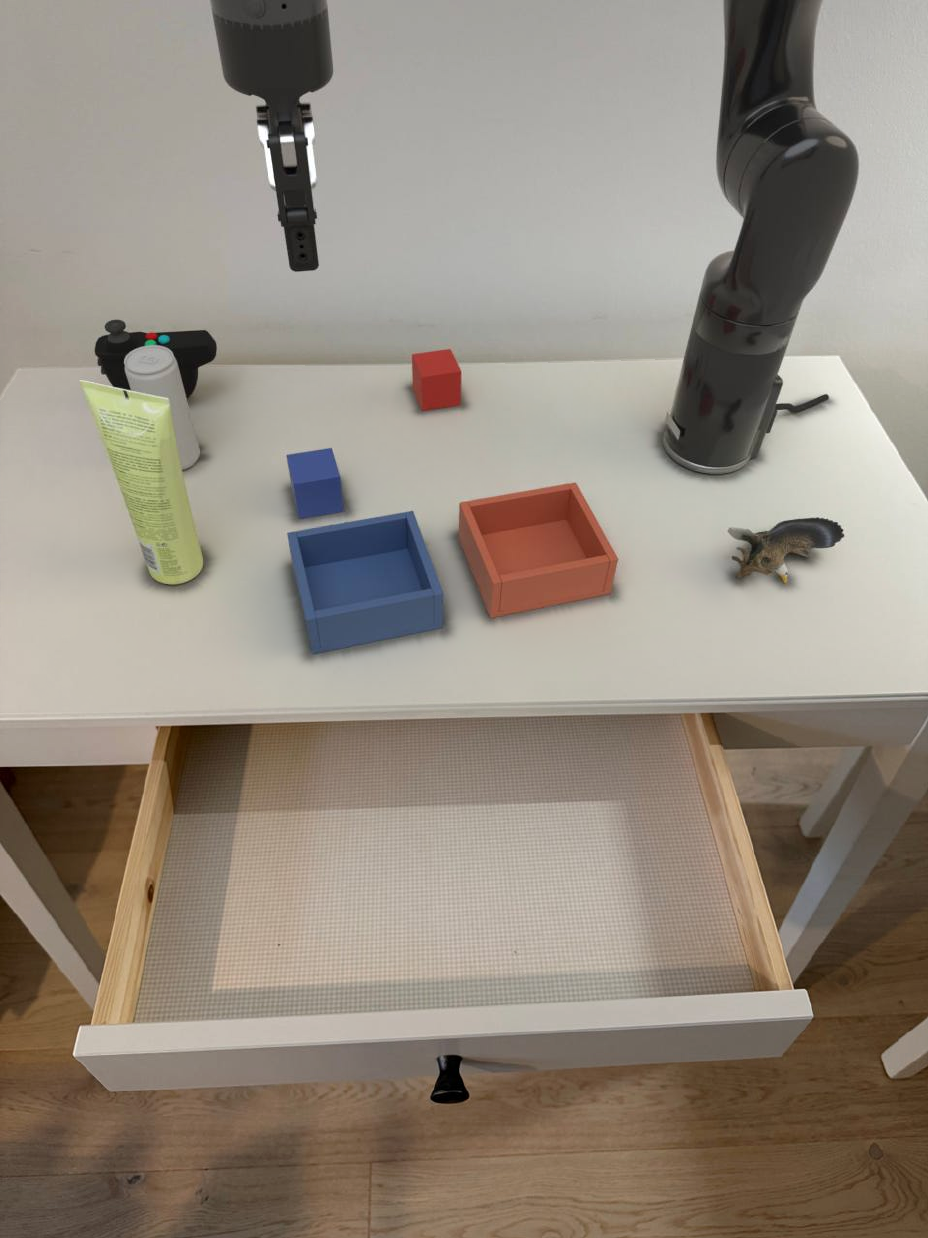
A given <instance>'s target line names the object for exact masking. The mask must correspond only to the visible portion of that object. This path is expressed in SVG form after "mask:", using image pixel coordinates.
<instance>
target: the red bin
mask: <svg viewBox="0 0 928 1238" xmlns="http://www.w3.org/2000/svg"><path fill="white" fill-rule="evenodd" d="M457 536H458V540H459V543H460V545H461V548H462V550H463V554H464V555H465V559H466V560H467V563H468V566H469V568H470V570H471V573H472V575H473V578H474V580H475V584H476V586H477V588H478V591H479V593H480V595H481V598H482V601H483V603H484V605H485V608H486V611H487V613H488V615H489V618H490V619H492V618H497V617H502V616H503V617H504V616H508V615H513V614H518V613H522V612H527V611H531V610H536V609H541V608H547V607H552V606H556V605H562V604H566V603H571V602H575V601H576V602H577V601H582V600H586V599H591V598H596V597H600V596H606V595H610V594H611V593H612V588H613V584H614V580H615V574H616V570H617V568H618V567H617V566H618V562H619V557H618V556H617V553H615V551H614V548H613V547H612V545H611V543H610V541H609V540H608V538H607V536H606V534H605V532H604V531H603V528H602V527H601V525H600V523H599V522H598V519H597V518H596V516H595V514H594V512H593V511H592V509H591V507H590V505H589V503H588V502H587V499H586V498H585V495H584V494H583V493H582V491H581V489H580V487H579V485H578V483H577V482H576V481H575V482H569V483H563V484H558V485H552V486H547V487H540V488H535V489H528V490H522V491H518V492H517V491H516V492H511V493H505V494H500V495H494V496H487V497H483V498H476V499H471V500H467V501H462V502H459V505H458V535H457Z"/></svg>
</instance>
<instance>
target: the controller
mask: <svg viewBox="0 0 928 1238" xmlns="http://www.w3.org/2000/svg"><path fill="white" fill-rule="evenodd" d="M126 327H127V325H126V322H125V321H124V320H121V319H111V320H109V321H106V323H105V325H104V329H105V331H106V332H107V333H109V334H104V335H101V336H99V337H98V338H97V339H96V342H95V343H94V344H95V346H94V355H95V356H96V357H97V363H96V364H97V366H98V367H100V374H101V375H105V376H106V378H107V380H108V382H109V383H110V384H111V385H110V386H112V387H116V388H121V389H125V390H130V391H131V388H130V385H129V382H128V379H127V376H126V373H125V364H124V359H125V357H126V355H127V354H128V353H130V352H131V351H133V350H134V349H137V348H139V347H143V346H149V345H158V346H163V347H166V348H168V349H170V350H171V351H172V353H173V355H174V357H175V359H176V361H177V364H178V368H179V371H180V375H181V379H182V383H183V387H184V391H185V394H186V398H187V400H188V399H190V397H191V396H192V395H193V394H194V392H195V390H196V388H197V384H198V380H199V368H201V367H203V366H205V365H207V364H210V363H211V362H213V361H215V359H216V357H217V351H218V350H217V349H218V346H217V342H216V340H215V338H214V337H213V336H212V335H211V333H210V332H209V331H208V330H206V329H198V330H195V329H194V330H179V331H161V332H153V331H149V332H144V331H133V332H128V331H126Z"/></svg>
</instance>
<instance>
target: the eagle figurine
mask: <svg viewBox="0 0 928 1238" xmlns="http://www.w3.org/2000/svg"><path fill="white" fill-rule="evenodd" d="M844 530H845V529H843V528H842V525H840V524H839V522H837V521H834V520H832V519H829V518H824V517H818V516H817V517H807V518H794V519H788V520H782V521H779V522H778V523H777V524H776V525H774V526H773V527H772V528H771V529H769V530H765V531H758V532H753V531H751V529H749V528H743V527H734V526H733V527H731V526H730V527H728V528H727V533H728V534H729V535H730V536H731V537H732V538H733V539H735V540H738V541H741V542H747V543H748V544H749V545H750V546H751V549H750V551H749V550H748V549H746V548H744V547H741V546H738V547H736V550H738V551H740V552H741V554H742V557H743V558H742V559H740V557H738V556H736V555H732V556H731V560H732V561H734V562H736V563H738V565H739V566H740V568H739V571H738V572H737V573H736V574H735V579H741V578H747V577H748V576H751V575H752V574H753V573H754V572H755V573H761V574H764V575H767V576H769V575H771V574H774V573H775V572H776V573H777V574H778V576H779V577H780V578H781V579H782V581H783V583H784V584H785V583H787V581H788V576H789V570H788V568H787V565H786V563H785V561H784V559H785V557H786V555H788V554H789V553H790V554H796V555H798V556H803V557H804V558H811V551H809V550H811V549H819V550H820V549H829V548H833V547H835V545H836V544H837V543H839V542H841V541H842V539H843V538H845V534H844V533H843V532H844ZM763 562H764V563H765V564H766V565H768V567H770V568H767V567H763V566H762V563H763Z"/></svg>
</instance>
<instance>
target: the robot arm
mask: <svg viewBox="0 0 928 1238" xmlns="http://www.w3.org/2000/svg"><path fill="white" fill-rule="evenodd" d="M823 1H824V0H722V6H723V7H722V8H723V29H724V31H723V35H724V36H723V37H724V38H723V39H724V45H723V46H724V47H723V48H724V49H723V54H724V55H723V70H722V82H721V93H720V94H721V95H720V106H719V117H718V127H717V137H716V138H717V139H716V151H715V152H716V153H715V155H716V156H715V169H716V170H715V171H716V177H717V182H718V184H719V187H720V190H721V192H722V194H723V197H724V198H725V199H726V201H727V203H729V204H730V206H731V207H732V208H733V209H734V210H735V211H736V212H737V213H738V215H739V216H740V217H741V218H742V219H743V220H742V224H741V227H740V231H739V234H738V237H737V241H736V244H735V247H734V249H733V250H729V251H725V252H722V253H720V254H718V255H716V256H715V257H714V258H712V260H711V261H710V262H709V263H708V264H707V267H706V269H705V272H704V275H703V278H702V281H701V286H700V291H699V295H698V298H697V303H696V307H695V311H694V315H693V319H692V323H691V327H690V331H689V335H688V340H687V344H686V348H685V352H684V356H683V360H682V364H681V368H680V373H679V375H678V379H677V380H678V381H677V385H676V389H675V393H674V397H673V401H672V405H671V410H670V413H669V412H668V411H667V412H666V416H665V423H666V427H665V430H664V434H663V438H662V444H663V448H664V450H665V452H666V453H667V455H668V456H669V457H670V458H671V459H672V460H673V461H674V462H676V463H677V464H678V465H680V466H682V467H684V468H686V469H689V470H691V471H694V472H698V473H703V474H709V475H723V474H730V473H733V472H736V471H738V470H740V469H741V468H744V467H745V466H746V465H747V464H748V462H749V461H750V460H751V459H756V458H758V455H759V454H760V451H761V448H762V445H763V443H764V439H765V436H766V434H770V433H771V431H772V428H773V425H774V422H775V420H776V417H777V414H778V411H782V410H783V411H788V412H789V413H799V412H803V411H805V410H809V409H811V408H813V407H815V406H817V405H819V404H822V403H824V402H826V401H828V400H829V399H830V396H829V395H828V394H827V393H824V394H822V395H819V396H817V397H815V398H813V399H811V400H809V401H806V402H804V403H801V404H797V405H793V404H792V403H789V402H788V403H787V402H783V403H782V402H780V403H778V400H779V396H780V394H781V392H782V389H783V386H784V381H783V378H782V377H781V376H780V375H779V372H780V369H781V366H782V363H783V360H784V358H785V354H786V352H787V348H788V346H789V343H790V339H791V337H792V334H793V331H794V328H795V325H796V322H797V319H798V316H799V314H800V311H801V308H802V305H803V303H804V300H805V299H806V297H807V296H808V295H809V293H810V292H811V291H812V290H813V289H814V287H816V285H817V283H818V282H819V280H820V278H821V277H822V275H823V274H824V270H825V268H826V266H827V264H828V262H829V259H830V256H831V254H832V251H833V249H834V247H835V244H836V243H837V239H838V237H839V234H840V232H841V230H842V227H843V225H844V222H845V220H846V217H847V214H848V213H849V210H850V207H851V204H852V201H853V198H854V196H855V192H856V188H857V185H858V179H859V173H860V158H859V153H858V149H857V147H856V145H855V143H854V141H853V140H852V139H851V138H850V136H848V135H847V133H845V132H844V131H843V130H842V129H841V128H839V127H838V126H837V125H836V124H834V123H833V122H832V121H830V120H829V119H828V118H827V117H826V116H825V115H823V114H821V113H820V112H819V110H817V105H816V101H815V88H814V87H815V86H814V83H815V82H814V69H815V67H814V65H815V42H816V33H817V25H818V20H819V14H820V11H821V7H822V4H823ZM209 3H210V7H211V15H212V20H213V25H214V30H215V36H216V41H217V47H218V53H219V58H220V64H221V70H222V75H223V79H224V81H225V83H226V84H227V85H228V86H229V87H230V88H231V89H232V90H234V91H236V92H237V93H239V94H242V95H245V96H249V97H251V96H255V97H258V98H260V99H262V100H264V103H265V104H255V110H256V111H255V112H256V127H257V134H258V140H259V143H260V146H261V148H262V149H263V151H264V159H265V167H266V173H267V174H266V175H267V181H268V184H269V188H270V189H271V190H272V191H274V192H275V194H276V200H277V207H278V211H277V220H278V223H279V222H280V227H281V228H283V232H284V239H285V245H286V252H287V253H286V254H287V258H288V266H289V269H290V270H291V271H292V272H295V273H299V272H312V271H313V272H314V271H316V270H317V269H318V268H319V266H320V264H319V263H320V262H319V255H318V246H317V238H316V230H315V225H316V224H317V223H316V220H318V214H317V209H316V208H315V206H314V197H313V190H314V189H315V188H316V187H317V185H318V176H317V169H316V160H315V153H314V145H315V144H316V131H315V123H314V122H315V121H314V116H313V113H312V112H313V111H312V105H311V104H312V103H311V102H310V101H305V102H301V100H300V99H301V97H302V96H304V95H306V94H308V93H315V92H318V91H320V90H321V89H323V88H325V87H326V86H327V85H328V84H329V83H330V82H331V80H332V79H333V75H334V62H333V50H332V40H331V29H330V28H331V27H330V17H329V8H328V7H329V5H328V0H209Z"/></svg>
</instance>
